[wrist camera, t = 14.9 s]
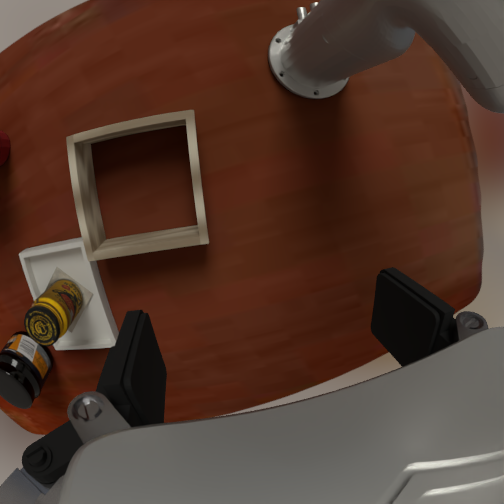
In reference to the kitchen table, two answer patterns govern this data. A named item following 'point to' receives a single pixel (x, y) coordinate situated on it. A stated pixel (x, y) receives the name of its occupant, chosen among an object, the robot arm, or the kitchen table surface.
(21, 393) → the supplement container
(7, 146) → the plastic cup
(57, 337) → the condiment
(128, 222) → the kitchen table surface
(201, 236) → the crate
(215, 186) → the kitchen table surface
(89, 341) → the tray
